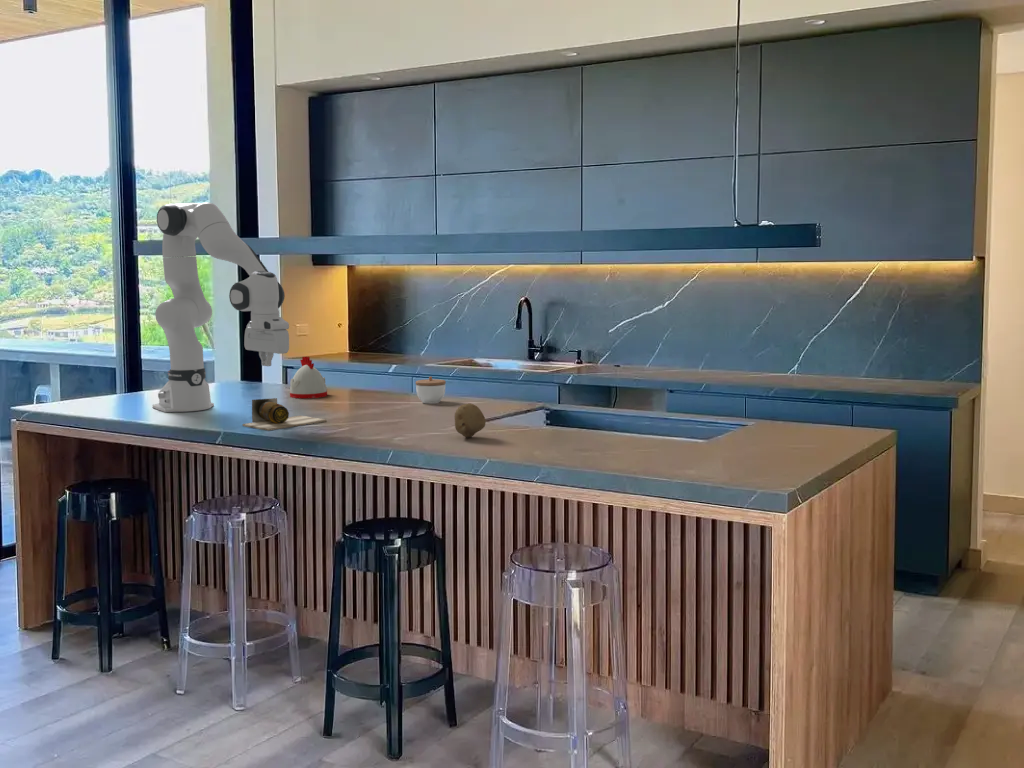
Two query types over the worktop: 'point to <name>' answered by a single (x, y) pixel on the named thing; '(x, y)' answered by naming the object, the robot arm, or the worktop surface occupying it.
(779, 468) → the worktop surface
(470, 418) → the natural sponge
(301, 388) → the kitchen timer
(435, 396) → the lidded jar
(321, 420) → the wooden cutting board
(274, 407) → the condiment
